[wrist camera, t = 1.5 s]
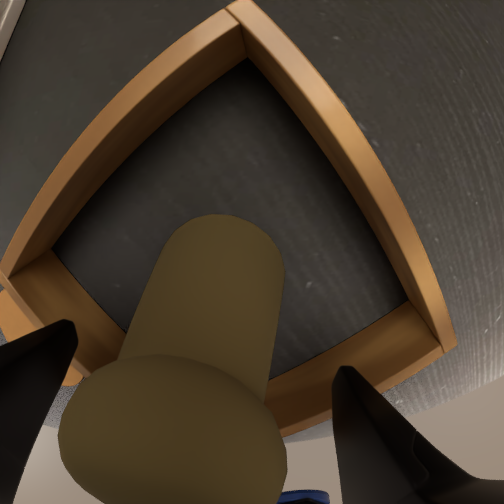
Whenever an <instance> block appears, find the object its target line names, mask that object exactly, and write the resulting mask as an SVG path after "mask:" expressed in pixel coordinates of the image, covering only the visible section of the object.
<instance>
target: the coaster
mask: <svg viewBox="0 0 504 504" xmlns="http://www.w3.org/2000/svg"><path fill="white" fill-rule="evenodd" d="M0 327H1V329H2V332H3V334H4V336H5V338H6V340H7V341H8V342H11V341H13V340H15V339H17V338H20V337H22V336H24V335H27V334H29V333H31V332H33V331H36V330H37V328H36V327H35V326H34V325H33V324H32V323H31V322H30V320H29V319H28V318H27V317H26V316H25V314H24V313H23V312H22V311H21V309H20V308H19V307H18V306H17V304H16V303H15V302H14V301H13V299H12V298H11V297H10V295H9V294H8V293H7V291H6V290H5V289H4V290H2V291H1V292H0ZM83 377H84V376H83V375H82V374H80V373H79V372H78V371H77V370H76V369H75V368H74V367H73V366H72V365H71V364H70V366H69V369H68V372H67V374H66V376H65V379H64V381H63V383H62V386H73V385H76V384H78V383H79V382H81V380H82V379H83Z"/></svg>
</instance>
